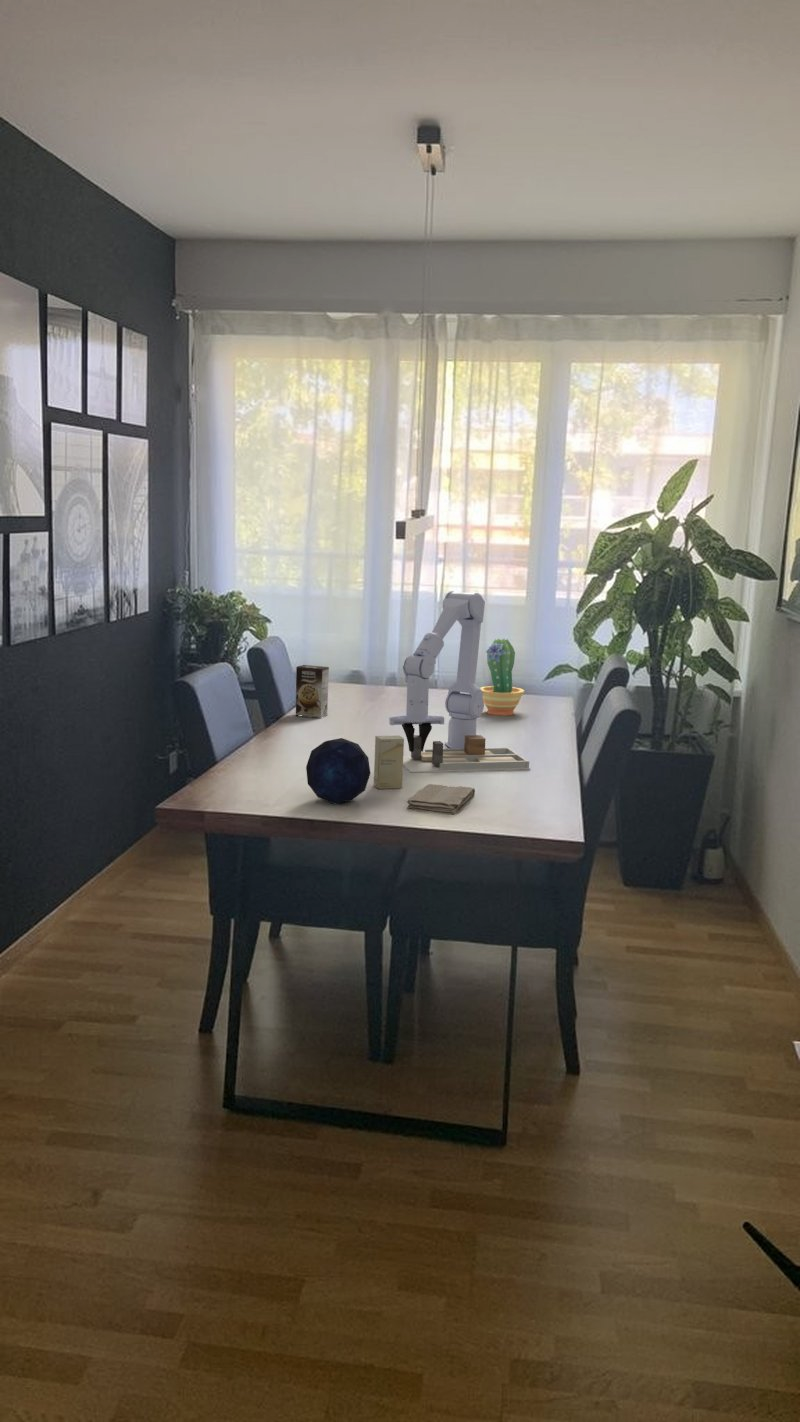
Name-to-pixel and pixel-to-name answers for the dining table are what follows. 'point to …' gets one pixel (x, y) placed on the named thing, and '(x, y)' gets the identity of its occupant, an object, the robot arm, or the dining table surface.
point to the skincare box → (388, 762)
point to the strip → (428, 755)
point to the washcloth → (441, 799)
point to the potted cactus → (501, 680)
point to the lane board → (472, 765)
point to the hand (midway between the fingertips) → (416, 751)
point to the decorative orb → (338, 770)
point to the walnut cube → (474, 745)
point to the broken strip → (438, 758)
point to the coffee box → (312, 691)
